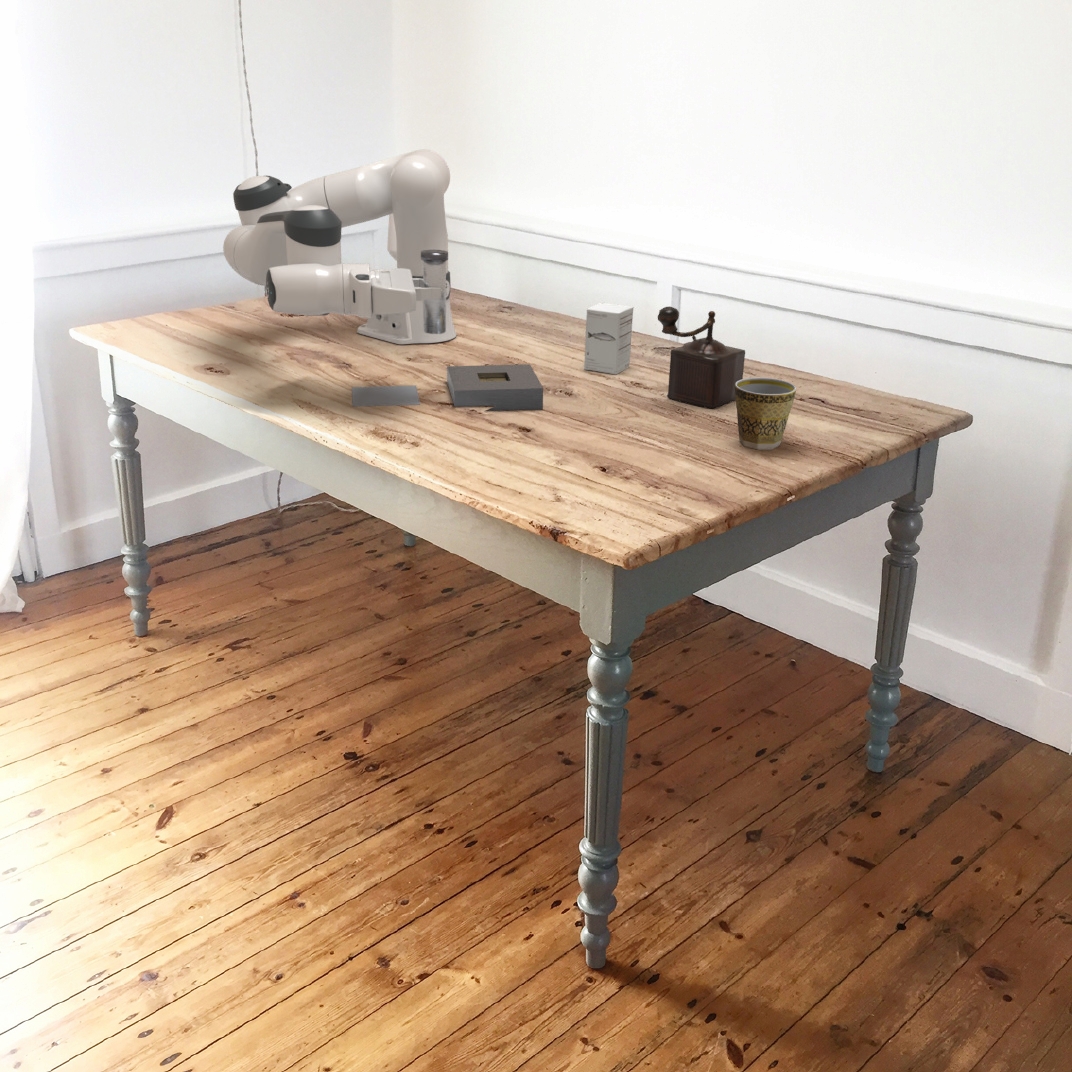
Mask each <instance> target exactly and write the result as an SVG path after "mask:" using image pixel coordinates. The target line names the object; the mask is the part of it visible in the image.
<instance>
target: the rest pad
mask: <svg viewBox="0 0 1072 1072" xmlns="http://www.w3.org/2000/svg"><path fill="white" fill-rule="evenodd" d="M419 397H420V396H419V391H418V387H417V385H386V386H384V385H382V386H381V385H380V386H378V385H377V386H352V387H351V398H352V401H351V403H352V408H353V407H354V408H357V407H359V408H360V407H384V406H386V407H387V406H388V407H389V406H391V407H392V406H420V405H421V403H420V398H419Z"/></svg>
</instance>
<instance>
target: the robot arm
mask: <svg viewBox="0 0 1072 1072" xmlns="http://www.w3.org/2000/svg"><path fill="white" fill-rule="evenodd" d="M450 181H451V173H450V168H449V165H448V163H447V162H446V160H445V159H444V157H442V155H441V154H439V153H437V152H436V151H433V150H430V149H417V150H412V151H410V152H406V153H403V154H399V155H396V156H391V157H389V158H385V159H382V160H379V161H375V162H371V163H368V164H365V165H361V166H358V167H354V168H350V169H346V170H342V171H339V172H334V173H331V174H327V175H324V176H321V177H317V178H314V179H311V180H309V181H307V182H306V181H305V182H304V183H302V184H299V185H297V186H295V187H294V188H292V187H293V186H291V184H289V183H285V182H283V181H281V180H280V178H276V177H274V176H271V175H257V176H256V175H255V176H252V177H249V178H246V179H245V180H244V181H242V182H241V183H239V184H238V185H236V187H235V189H234V191H233V193H232V195H233V196H232V198H233V203H234V207H235V210H237V212H238V216H239V220H240V223H241V225H240V226H237V227H234V228H233V229H232V230H230V232H228V234H227V235H226V237H225V238H224V241H223V247H222V249H223V255H224V258H225V261H226V262H227V263H228V265H229V266H230V268H231V269H232V270H233V271H234V272H236V273H237V274H238V275H239V276H240V277H242V278H244V279H245V280H247V281H249V282H250V283H253V284H255V285H258V286H264V287H266V296H267V301H268V306H269V307H270V309H271V310H272V312H277V313H281V314H287V315H288V314H289V315H297V316H299V315H300V316H308V317H312V316H316V317H317V316H319V317H320V316H324V317H325V316H327V315H330V314H336V315H337V314H338V315H341V316H357V317H359V318H360V319H367V321H366V323H364V324H361V325H359V326H358V327H357V331H356V333H357V334H360V335H363V336H367V337H370V338H374V339H378V340H381V341H384V342H385V341H386V342H389V343H393V344H397V345H409V344H433V343H434V344H435V343H442V342H447V341H450V340H452V339H454V338H455V337H457V332H456V329H455V326H454V322H453V315H452V309H451V302H450V301H451V300H450V299H451V298H450V296H451V287H452V286H451V272H450V271H449V259H448V260H447V261H446V332H445V333H442V334H429V333H425V332H424V319H423V300H427V299H435V298H440V297H441V289H440V287H429V288H423V260H421V251H423V250H444V251H447V252H448V253H449V238H448V237H449V235H448V228H447V221H446V220H447V219H446V211H445V208H446V207H445V194H446V192H447V191H448V189H449V186H450ZM392 213H393V217H394V223H395V230H396V245H397V261H396V264H397V265H396V268H380V269H372V270H371V268H370V263H342V244H341V243H342V242H341V240H342V228H346V227H350V226H354V225H359V224H362V223H366V222H370V221H374V220H378V219H380V218H383V217H386V216H389V214H392Z"/></svg>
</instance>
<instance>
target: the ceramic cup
mask: <svg viewBox="0 0 1072 1072" xmlns="http://www.w3.org/2000/svg"><path fill="white" fill-rule="evenodd" d="M796 391H797V386H795V385H794V384H793V383H791V382H789V381H785V380H783V379H778V378H771V377H747V378H743V379H742V380H739V381H737V382H736V383H735V401H734V402H735V406H736V417H737V427H738V428H737V430H738V431H737V432H738V439H739V442H740V443H741V444H742V445H743V447H745V448H749V449H754V450H759V451H761V450H766V451H767V450H775V448H777V447H779V446H780V445H781V442H782V439H783V437H784V433H785V431H786V427H787V423H788V420H789V415H790V413H791V410H792V408H793V404H794V400H795V397H796Z"/></svg>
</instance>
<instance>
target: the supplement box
mask: <svg viewBox="0 0 1072 1072" xmlns="http://www.w3.org/2000/svg"><path fill="white" fill-rule="evenodd" d="M633 318H634V306H629V305H622V304H615V303H608V302H599V303H596V304H594V305H592V306H590V307H588V308H587V309H586V321H585V342H584V345H585V346H584V363H583V364H584V365H583V369H584V371H592V372H593V371H595V372H600V373H606V374H611V375H614V376H615V375H618V374H620V373H621V372H623V371H625V370H627V369H628V368H630V363H631V351H632V350H631V349H632V347H631V346H632V333H633V320H634V319H633Z"/></svg>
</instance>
